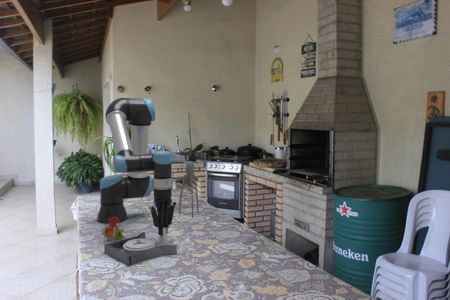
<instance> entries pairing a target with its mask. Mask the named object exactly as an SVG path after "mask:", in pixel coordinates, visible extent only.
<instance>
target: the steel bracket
mask: <svg viewBox="0 0 450 300" xmlns="http://www.w3.org/2000/svg"><path fill="white" fill-rule="evenodd" d="M133 239H146V232H145V231H142V232H141V233H139V234H137V235H136V236H131V237H128V238H124V239H121V240H117V241H113V242H109V243H105V244H104V254H105V255H108V256H109V257H111V258H113V259H114V260H117V261H119V262H120V263H122V264H125V265H127V266H129V267H130V266H133V265H136V264H139V263H142V262H146V261H149V260H152V259H155V258H159V257H161V256H168V255H170V256H171V255H177V254H178V249H177V248H178V246H177V244H168V245H166V244H165V245H159V246H156V247H155V246H154V248H152V249H149V250H145V251H142V252H139V253H135V254H132V255H129V254H127V253H125V252H123V251H124V248H123V245H124V244H125V243H126V242H127V241H129V240H133ZM122 250H123V251H122Z"/></svg>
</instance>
